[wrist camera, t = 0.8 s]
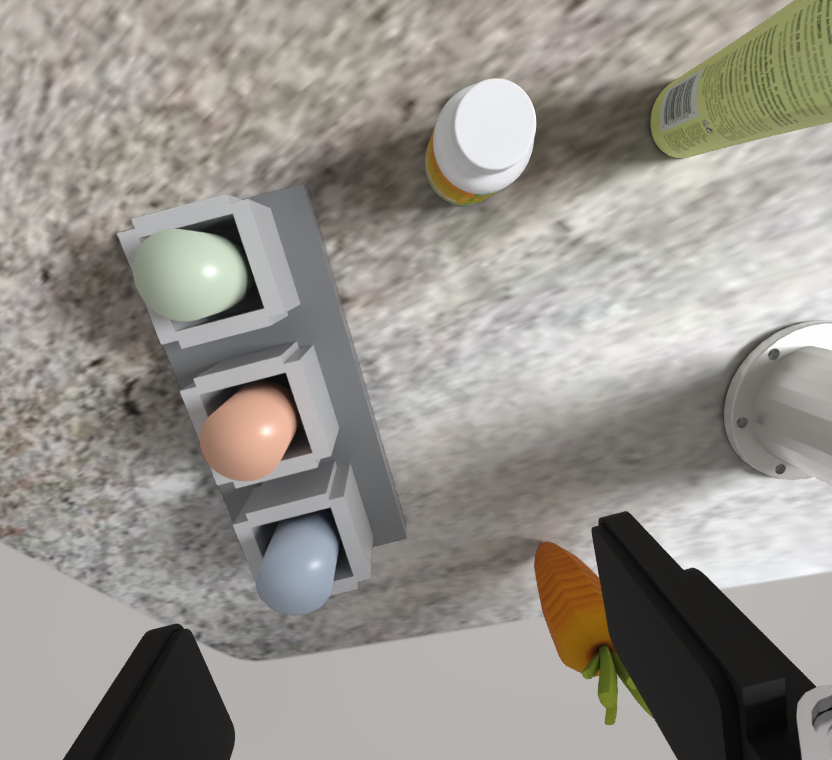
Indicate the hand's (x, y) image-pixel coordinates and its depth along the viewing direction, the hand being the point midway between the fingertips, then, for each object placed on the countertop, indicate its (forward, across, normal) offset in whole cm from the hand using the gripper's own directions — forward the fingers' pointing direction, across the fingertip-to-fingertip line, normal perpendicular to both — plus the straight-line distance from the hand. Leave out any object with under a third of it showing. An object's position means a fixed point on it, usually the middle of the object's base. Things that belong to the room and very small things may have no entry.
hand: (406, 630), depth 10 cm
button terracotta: (+21, +9, 0) cm, 23 cm away
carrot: (+26, -8, +18) cm, 33 cm away
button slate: (+21, +8, +9) cm, 25 cm away
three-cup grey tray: (+26, +8, 0) cm, 28 cm away
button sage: (+21, +8, -9) cm, 24 cm away
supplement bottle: (+26, -8, -12) cm, 30 cm away
